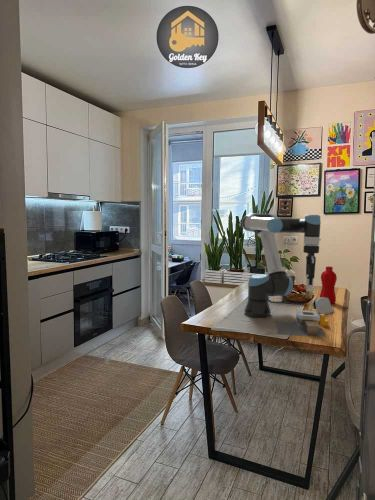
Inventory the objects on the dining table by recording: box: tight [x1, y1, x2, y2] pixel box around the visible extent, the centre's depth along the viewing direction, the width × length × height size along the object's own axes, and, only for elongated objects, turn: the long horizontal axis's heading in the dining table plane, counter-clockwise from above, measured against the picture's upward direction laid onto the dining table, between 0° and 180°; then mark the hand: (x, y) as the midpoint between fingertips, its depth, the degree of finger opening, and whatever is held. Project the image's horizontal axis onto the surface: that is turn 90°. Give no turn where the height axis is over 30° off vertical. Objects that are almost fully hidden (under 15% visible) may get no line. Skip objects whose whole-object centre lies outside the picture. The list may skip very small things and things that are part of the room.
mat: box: [274, 320, 327, 338], centre depth 177 cm, size 22×23×1 cm
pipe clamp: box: [310, 308, 329, 327], centre depth 188 cm, size 12×4×6 cm, turn 3°
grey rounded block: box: [311, 297, 335, 315], centre depth 212 cm, size 17×5×10 cm, turn 131°
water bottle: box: [319, 266, 338, 305], centre depth 236 cm, size 9×11×25 cm
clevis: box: [295, 309, 321, 336], centre depth 176 cm, size 10×20×7 cm, turn 170°
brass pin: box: [305, 274, 313, 300], centre depth 178 cm, size 4×4×12 cm
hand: (309, 290), depth 178 cm, fingers closed on brass pin, 2 cm apart
